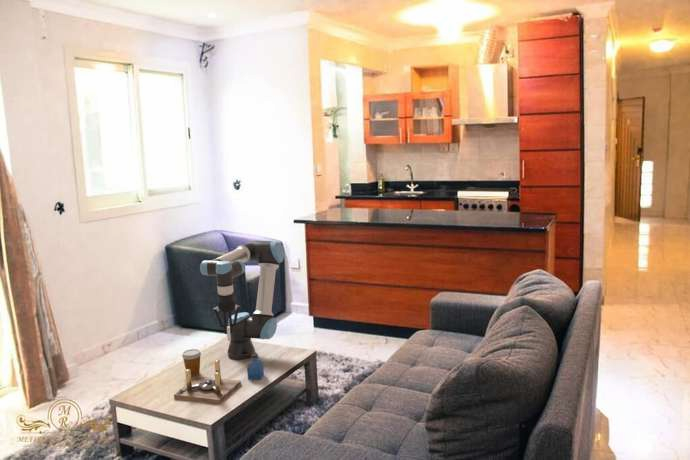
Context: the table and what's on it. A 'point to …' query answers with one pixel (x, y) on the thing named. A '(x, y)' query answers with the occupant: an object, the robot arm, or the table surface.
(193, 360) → the disposable coffee cup
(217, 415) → the table surface
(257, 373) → the perfume bottle
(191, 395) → the stand
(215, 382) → the capstan
